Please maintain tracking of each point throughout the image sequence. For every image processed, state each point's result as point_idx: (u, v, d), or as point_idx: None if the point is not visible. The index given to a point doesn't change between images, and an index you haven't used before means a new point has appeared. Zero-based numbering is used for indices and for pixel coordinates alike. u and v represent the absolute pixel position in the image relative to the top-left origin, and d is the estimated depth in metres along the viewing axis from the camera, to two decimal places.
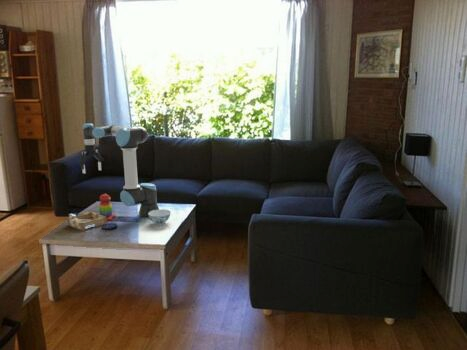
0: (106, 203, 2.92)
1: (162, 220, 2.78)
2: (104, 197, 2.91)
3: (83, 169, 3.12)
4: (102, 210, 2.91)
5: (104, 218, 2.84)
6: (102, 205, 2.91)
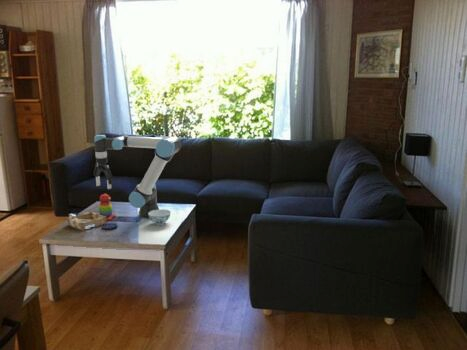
0: (106, 203, 2.92)
1: (162, 220, 2.78)
2: (104, 197, 2.91)
3: None
4: (102, 210, 2.91)
5: (104, 218, 2.84)
6: (102, 205, 2.91)
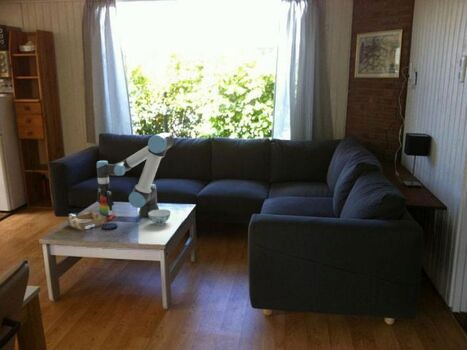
0: (106, 203, 2.92)
1: (162, 220, 2.78)
2: (104, 197, 2.91)
3: None
4: (102, 210, 2.91)
5: (104, 218, 2.84)
6: (102, 205, 2.91)
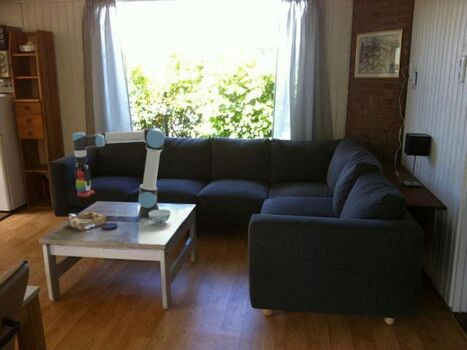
0: (84, 178, 2.74)
1: (162, 220, 2.78)
2: (81, 171, 2.73)
3: None
4: (79, 185, 2.73)
5: (104, 218, 2.84)
6: (79, 180, 2.73)
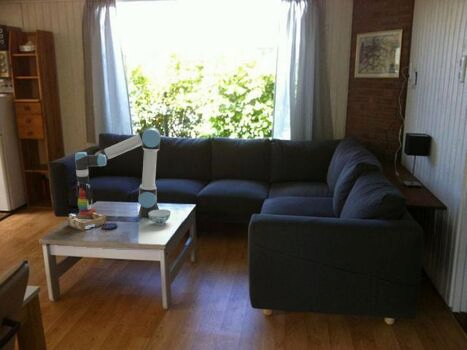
0: (86, 197, 2.77)
1: (162, 220, 2.78)
2: (83, 190, 2.76)
3: None
4: (81, 204, 2.76)
5: (104, 218, 2.84)
6: (81, 199, 2.76)
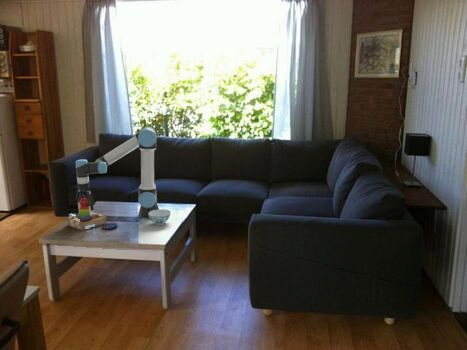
0: (86, 206, 2.79)
1: (162, 220, 2.78)
2: (83, 200, 2.78)
3: (80, 206, 2.86)
4: (82, 214, 2.78)
5: (104, 218, 2.84)
6: (82, 209, 2.78)
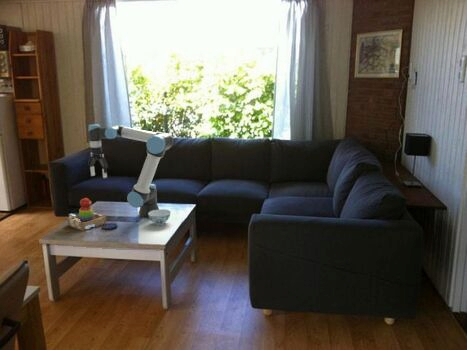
0: (87, 207, 2.79)
1: (162, 220, 2.78)
2: (84, 201, 2.78)
3: None
4: (82, 215, 2.78)
5: (104, 218, 2.84)
6: (82, 210, 2.78)
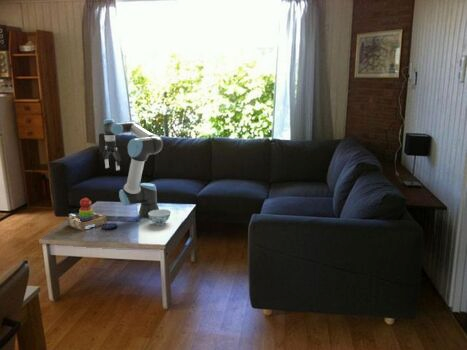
0: (87, 207, 2.79)
1: (162, 220, 2.78)
2: (84, 201, 2.78)
3: None
4: (82, 215, 2.78)
5: (104, 218, 2.84)
6: (82, 210, 2.78)
